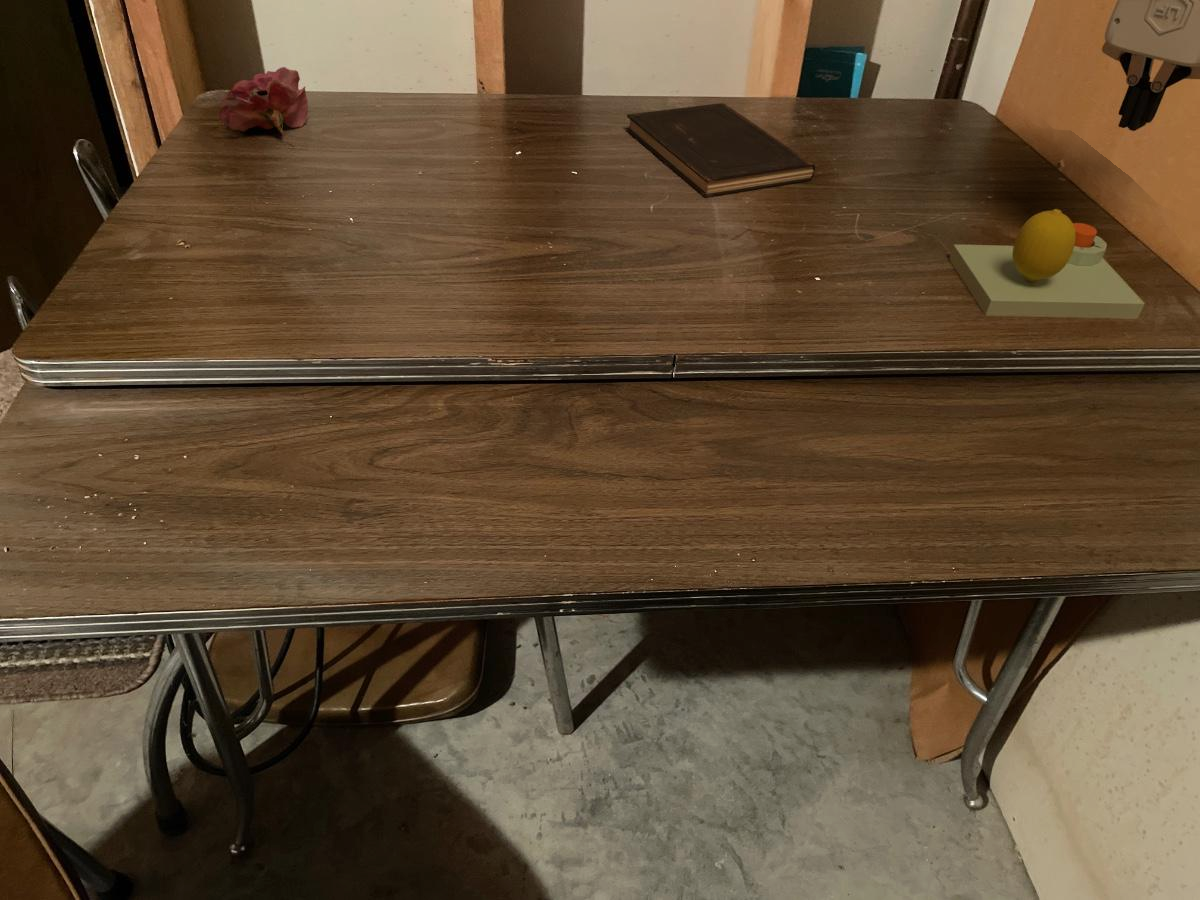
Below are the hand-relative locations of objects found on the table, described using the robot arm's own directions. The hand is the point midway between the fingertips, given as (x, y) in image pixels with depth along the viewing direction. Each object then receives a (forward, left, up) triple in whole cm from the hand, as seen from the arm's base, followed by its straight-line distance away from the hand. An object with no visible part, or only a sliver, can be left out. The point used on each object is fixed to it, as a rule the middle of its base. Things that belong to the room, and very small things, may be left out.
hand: (1132, 125), depth 93 cm
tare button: (+2, +1, -12) cm, 13 cm away
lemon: (+9, +8, -14) cm, 18 cm away
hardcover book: (+38, -28, -16) cm, 49 cm away
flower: (+97, -31, -16) cm, 103 cm away
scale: (+7, +6, -16) cm, 18 cm away
